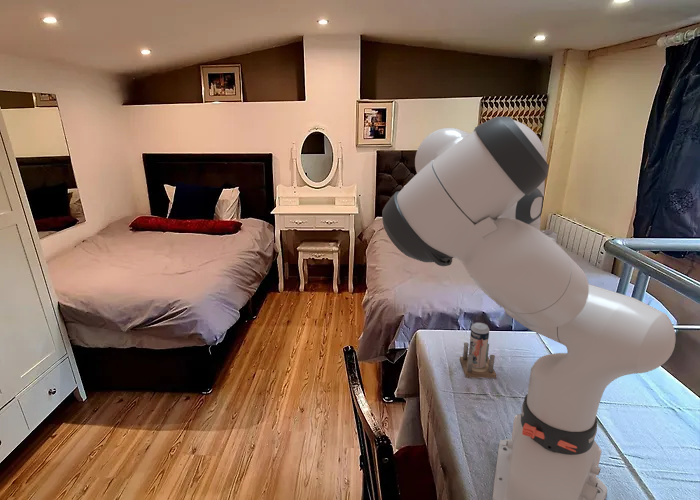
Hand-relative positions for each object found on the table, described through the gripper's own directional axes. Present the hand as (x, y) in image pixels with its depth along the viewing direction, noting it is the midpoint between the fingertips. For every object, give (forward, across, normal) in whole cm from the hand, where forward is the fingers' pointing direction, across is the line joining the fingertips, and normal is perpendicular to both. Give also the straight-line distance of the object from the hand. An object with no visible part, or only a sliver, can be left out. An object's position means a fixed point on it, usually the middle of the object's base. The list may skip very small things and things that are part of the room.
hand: (513, 284), depth 95 cm
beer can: (+24, +8, -1) cm, 25 cm away
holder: (+25, +7, -1) cm, 26 cm away
